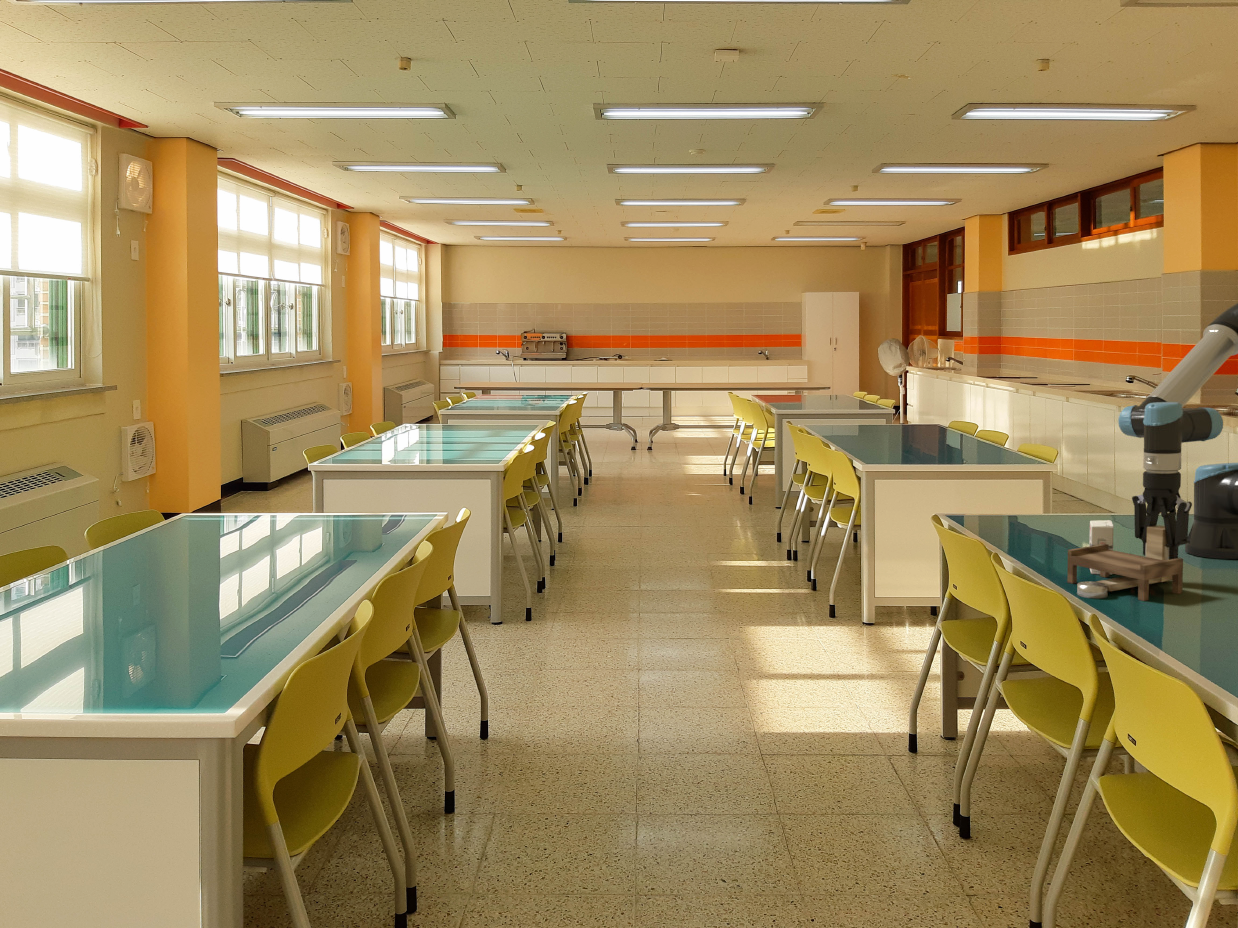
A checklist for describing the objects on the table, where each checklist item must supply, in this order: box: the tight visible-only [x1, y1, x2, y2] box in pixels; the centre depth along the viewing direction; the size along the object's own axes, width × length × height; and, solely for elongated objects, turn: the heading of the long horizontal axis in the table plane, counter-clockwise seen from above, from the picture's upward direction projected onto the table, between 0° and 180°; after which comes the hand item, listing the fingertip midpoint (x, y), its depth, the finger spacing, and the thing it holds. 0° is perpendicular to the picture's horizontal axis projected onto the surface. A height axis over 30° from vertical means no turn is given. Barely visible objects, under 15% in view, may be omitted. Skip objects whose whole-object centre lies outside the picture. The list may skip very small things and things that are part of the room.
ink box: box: [1088, 519, 1114, 576], centre depth 239 cm, size 9×5×12 cm, turn 158°
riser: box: [1067, 544, 1184, 602], centre depth 223 cm, size 12×20×8 cm, turn 24°
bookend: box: [1096, 525, 1172, 592], centre depth 223 cm, size 20×4×12 cm, turn 114°
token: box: [1076, 581, 1109, 599], centre depth 218 cm, size 6×6×2 cm
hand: (1159, 571), depth 226 cm, fingers closed on bookend, 4 cm apart
